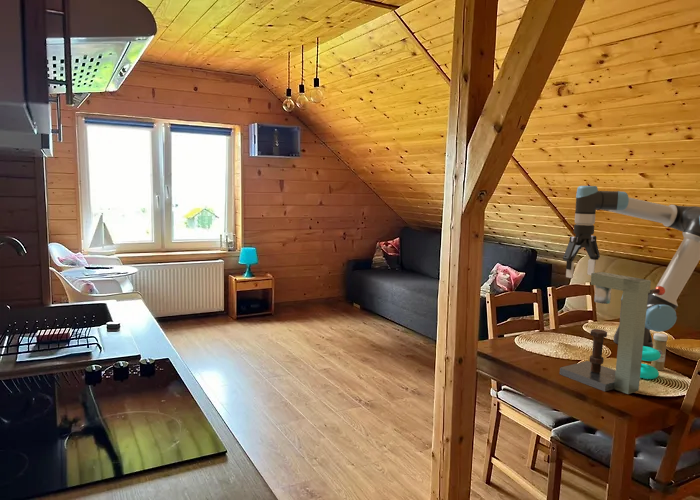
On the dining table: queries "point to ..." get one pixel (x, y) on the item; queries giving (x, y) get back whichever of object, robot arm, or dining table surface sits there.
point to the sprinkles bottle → (661, 347)
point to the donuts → (648, 370)
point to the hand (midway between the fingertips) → (580, 276)
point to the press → (629, 334)
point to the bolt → (597, 349)
